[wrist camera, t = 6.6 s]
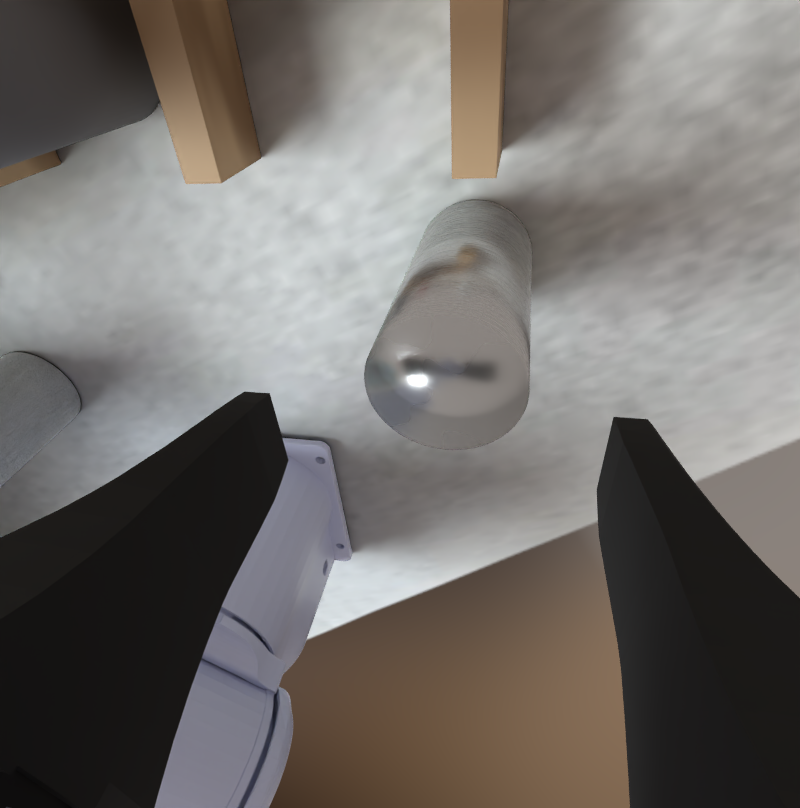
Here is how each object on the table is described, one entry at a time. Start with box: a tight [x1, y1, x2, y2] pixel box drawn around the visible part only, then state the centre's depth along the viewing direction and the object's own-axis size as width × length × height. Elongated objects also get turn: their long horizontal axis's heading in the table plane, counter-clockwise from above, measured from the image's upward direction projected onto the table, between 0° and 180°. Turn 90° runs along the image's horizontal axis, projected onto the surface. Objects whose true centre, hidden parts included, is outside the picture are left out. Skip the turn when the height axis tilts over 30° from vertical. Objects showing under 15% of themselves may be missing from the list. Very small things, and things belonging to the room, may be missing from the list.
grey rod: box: [364, 200, 532, 450], centre depth 16 cm, size 4×4×8 cm
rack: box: [0, 0, 509, 187], centre depth 14 cm, size 8×18×3 cm, turn 94°
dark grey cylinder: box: [0, 0, 160, 169], centre depth 14 cm, size 4×4×8 cm
